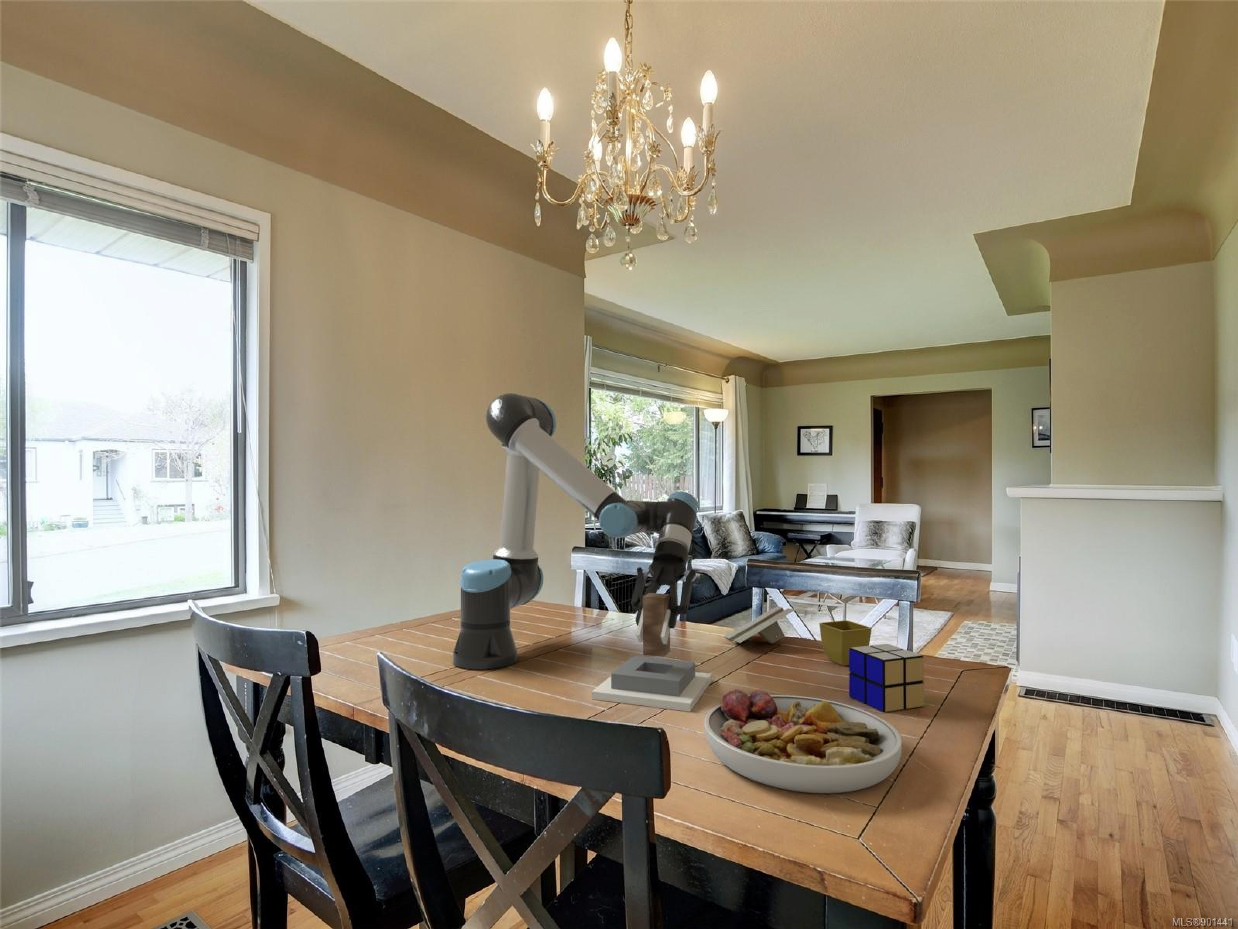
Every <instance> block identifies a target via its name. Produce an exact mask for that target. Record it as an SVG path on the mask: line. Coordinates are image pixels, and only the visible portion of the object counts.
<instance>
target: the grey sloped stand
mask: <svg viewBox="0 0 1238 929" xmlns="http://www.w3.org/2000/svg"><path fill="white" fill-rule="evenodd" d="M795 611H796V609H793V608H786V609H784V608H783V607H782V606H778V605H777V606H775V607H773V608H771V609H770V610H768V611H766V612H764V613H762V614H761V615H759V616H758V617H755V618H753V619H752V620H751V621H748V622H747V623H746V624H744V625H742V626H740V627H738V628H736V629H735V630H733V631H731V632H730V633H727V634H726V635H724V638H726V639H728V640H729V641H730V642H731V643H734V644H738V643H739V644H741V643H742V642H745V641H746V640H747V639H749V638H751V637H753V636H754V635H756V634H758V635H759V636H760V637H762V639H763V640H764V641H766V642H767V643H769V644H774V643H776V642H778V641H779V640H782V639H783V638H784V637H785V634H784V632H783V630H782V628H781V626H780V624H779V622H778V621H779V620H781V619H783V618H785V617H786V616H787V615H789V614H791V613H793V612H795ZM736 630H739V631H736ZM776 636H777V637H776Z"/></svg>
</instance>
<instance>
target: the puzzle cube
mask: <svg viewBox="0 0 1238 929" xmlns="http://www.w3.org/2000/svg"><path fill="white" fill-rule="evenodd" d="M924 662H925V659H924V656H923V655H922V654H920V653H916V652H914V651H911V650H908V649H904V648H901V647H899V646H896V645H892V644H889V643H881V644H871V645H869V646H861V647H852V648H850V649H849V665H848V671H849V674H848V677H849V678H848V681H849V682H848V691H849V692H848V694H849V695H848V697H850V698H852V699H854V700H856V701H857V702H860V703H862V704H864V705H867V706H869V707H870V708H873V709H875V710H877V711H879V712H882V713H883V714H884V713H885V714H886V713H893V712H898V711H904V710H911V709H918V708H923V707H925V688H924V686H925V682H924V680H925V679H924V671H925V665H924Z"/></svg>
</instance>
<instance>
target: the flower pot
mask: <svg viewBox="0 0 1238 929" xmlns="http://www.w3.org/2000/svg"><path fill="white" fill-rule="evenodd" d="M819 632H820V639H821V640H820V641H821V645H822V648H823V651H824V653H825V654H826V656H827V658H828V660H829V661H831V662H833V663H836V664H838V665H840V666H843V667H845V666H849V649H850V648H852V647H861V646H870V642H871V635H872V627H870V626H867V625H864V624H860V623H857V622H854V621H851V620H835V621H826V622H824V621H822V622H819Z"/></svg>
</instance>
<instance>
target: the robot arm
mask: <svg viewBox="0 0 1238 929" xmlns="http://www.w3.org/2000/svg"><path fill="white" fill-rule="evenodd" d="M485 417H486V419H485V420H486V425H487V427H488V429H489V431H490V432H491V434H492V435H493V436H494V437H495V438H496V439H498V441H500V442H501V449H502V450H503V451H504V452H505V453H506V465H505V466H506V467H505V477H504V478H505V479H504V490H503V492H504V493H503V504H502V514H501V516H502V518H501V529H500V540H499V547H498V548H497V549H496V550H494V552H493V554H492V559H483V560H477V561H473V562H471V563H469V564H466V565H465V566H464V567H463V569H462V570H461V575H460V576H461V578H460V582H459V584H460V585H459V586H460V630H459V634H458V637H457V639H456V643H455V646H454V649H453V652H452V664H453V665H454V666H456V667H458V668H461V669H466V670H492V669H499V668H504V667H508V666H510V665H513V664H514V663H516V662H517V661H518V648H517V645H516V642H515V638H514V635H513V633H512V629H511V610H512V609H513V608H517V607H519V606H520V607H521V606H524V605H526V604H528V603H530V602H531V601H532V600H534V599H535V598H537V596H538V595H539V594H540V592H541V590H542V587H543V584H544V573H543V570H542V568H541V567H540V564H539V554H538V552H536V551H535V549H534V542H535V530H536V518H537V506H538V492H539V482H540V472H542V473H543V474H544V475H545V476H546V477H547V478H549V479H550V480H551V481H552V482H553V483H555V485H557V486H558V488H560V489H561V490H562V491H564V493H565V494H567V495H569V497H570V498H572V499H573V500H574V501H575V502H576V503H577V504H578V505H580V506H581V507H582V508H583V509H585V511H586V512H588V513H589V514H590V515H591V516H592V517H593V518H595V519H596V520H597V521H598V523H599V524H598V525H599V527H600V529H601V531H602V532H603V533H604V534H605V535H607V536H608V537H611V538H618V539H620V538H627V537H629V536H632V535H637V534H639V533H658V537H657V541H656V546H655V549H654V553H653V557H652V562H651V563H650V564H649V566H648V567H646V568H645V567H644V568H642V567H641V566H639V567H637V568H636V573H637V578H636V581H635V585H634V588H633V593H632V597H631V600H630V604H631V607H632V608H633V611H635V612H636V616H635V624H636V626H637V629H636V633H635V636H636V638H637V641H638V643H643V596H645V595H647V594H648V593H657V592H658V591H660V588H661V587H662V586H667V587H669V594H670V610H668V609H667V611H666V615H665V620H664V624H663V628H662V633H661V639H662V642H663V644H667V641H668V637H669V632H670V633H671V629H675V628H676V625H677V620H678V616H679V615H687V614H688V612H689V606H690V602H691V597H692V592H693V586H694V585H695V583H696V582H697V580H698V576H697V573H696V570H694V569H690V570H688V569H687V563H688V558H689V552H690V548H691V543H692V540H693V539H692V538H693V533H694V529H695V524H696V521H697V518H698V516H697V515H698V507H699V505H698V504H699V502H698V500H697V499H696V497H695V496H693V495H692V494H691V493H689V492H686V491H681V490H680V491H676V492H674V493H673V492H672V493H670V495H669V496H668V498H667V500H664V501H663V500H660V501H659V500H657V501H652V500H649V501H648V500H647V501H645V500H631V499H630V500H626V499H624V498H623V497H622V496H621V495H620V494H618V493H617V492H616V490H614V489H613V488H612V487H610V486H609V484H607V483H606V482H605V481H603V479H601V478H600V477H599V476H598V475H596V474H595V473H594V472H593V471H592V470H591V469H589V468H588V467H587V466H586V465H584V463H583V462H581V461H580V460H579V459H578V458H576V457H575V456H574V455H573V454H572V453H571V452H569V450H567V449H566V448H565V447H564V446H563V445H562V444H560V443H559V442H558V441H556V440H555V439H554V438H553V435H554V434H555V431H556V427H557V420H556V416H555V413H554V410H553V409H552V407H550V405H548V404H547V403H546V402H544V401H542V400H540V399H538V398H536V397H529V396H527V395H526V396H525V395H521V394H517V393H509V392H508V393H503V394H500V395H499V396H497V397H495V398H494V399H493V400H492V401H491V402H490V403H489V405H488V407H487V409H486V415H485ZM649 575H650V576H651V578H650V582H649V584H648V586H647V588H646V590H645V592H644V589H645V586H646V580H647V579H648V577H649ZM683 578H684V579H685V580H684V584H683V588H682V593H681V594H682V595H681V598H680V603H679V598H678V582H680V580H682V579H683Z"/></svg>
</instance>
